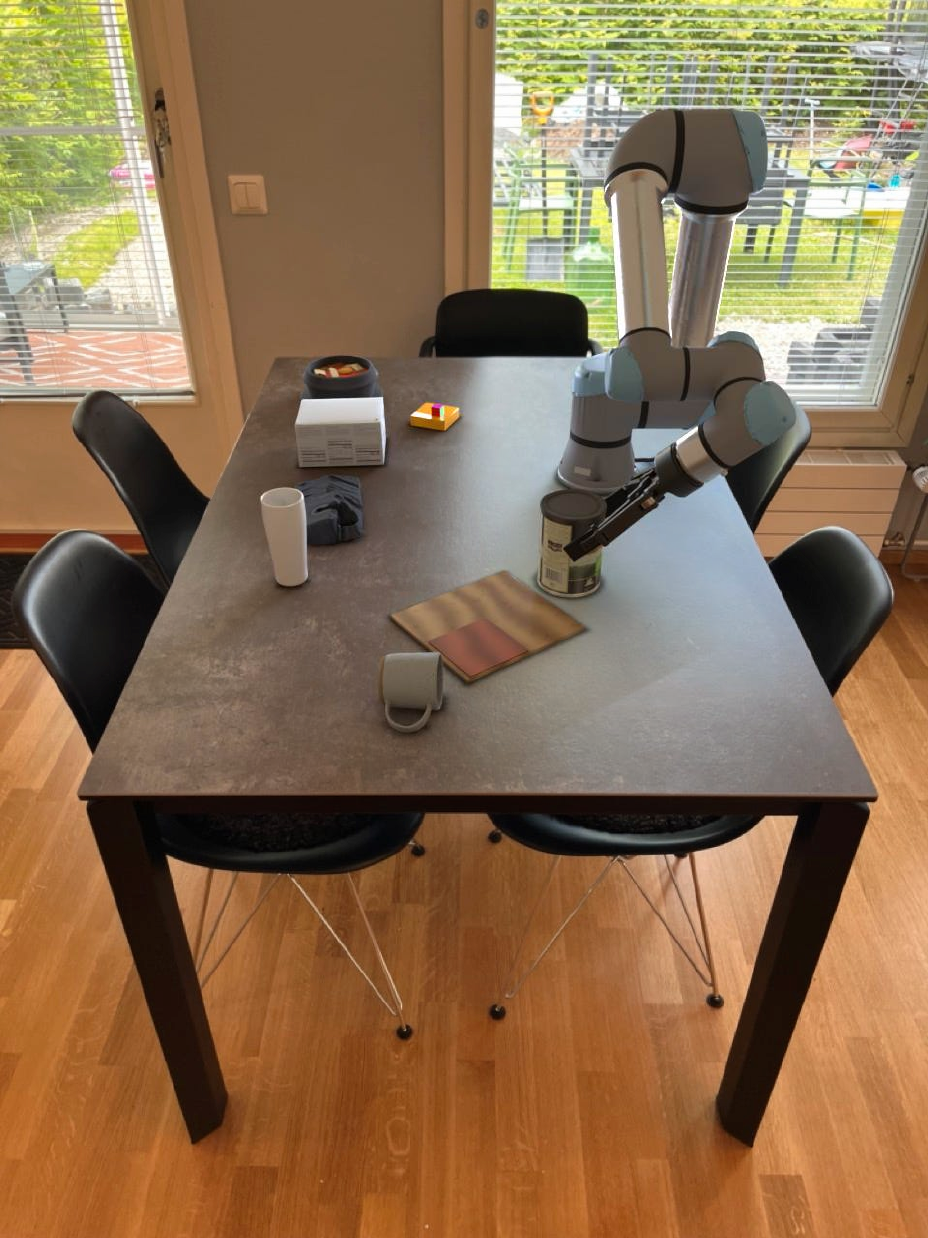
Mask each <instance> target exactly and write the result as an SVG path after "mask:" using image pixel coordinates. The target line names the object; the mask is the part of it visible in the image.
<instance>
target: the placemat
mask: <svg viewBox="0 0 928 1238" xmlns="http://www.w3.org/2000/svg"><path fill="white" fill-rule="evenodd" d="M390 619H391V620H392V621H393V622H395V623H396V624H397V625H398V626H399V627H400V628H401V629H402V630H404V631H405V632H406V633H407V634H409V635H410V637H412V638H413V639H414V640H415V641H416V642H418V644H420V645H421V646H423V647H424V648H425V649H426V650H427V651H428V652H429V653H431V652H439V653H440V654H441V655H442V661H443V665H444V666H445V667H447V668H448V669H449V670H450V671H452V673H453V674H455V675H456V676H457V677H458V678H459V679H460V680H462V681H463V682H464V683H466V684H470V683H473V682H474V681H477V680H479V679H481V678H484V677H486V676H487V675H490V674H492V673H494V672H496V671H498V670H502V669H503V668H505V667H508V666H509V665H511V664H514V663H516V662H518V661H521V660H523V659H525V658H527V657H529V656H531V655H533V654H536V653H538V652H540V651H542V650H544V649H546V648H549V647H551V646H553V645H555V644H558V643H560V642H562V641H564V640H567V639H569V638H571V637H573V636H575V635H578V634H579V633H582V632H584V631H586V626H585V625H583V624H582V623H580V622H579V621H578V620H576V619H574V618H573V617H572V616H570V615H569V614H567V612H565V611H563V610H562V609H560V608H559V607H557V606H556V605H554V604H553V603H552V602H550V601H549V600H547V599H546V598H544V597H543V596H542V595H540V594H539V593H537V592H536V591H534V590H533V589H531V588H530V587H529V586H527V585H526V584H524V583H523V582H521V581H520V580H518V579H517V578H516V577H514V576H513V575H511V574H510V573H509V572H507V571H505V570H501V571H499V572H496V573H494V574H491V575H488V576H486V577H483V578H481V579H478V580H476V581H474V582H471V583H469V584H465V585H463V586H461V587H458V588H456V589H453V590H451V591H449V592H445V593H443V594H441V595H438V596H435V597H433V598H431V599H428V600H426V601H422V602H420V603H418V604H415V605H412V606H410V607H408V608H405V609H402V610H400V611H398V612H395V613H392V614H390Z"/></svg>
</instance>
